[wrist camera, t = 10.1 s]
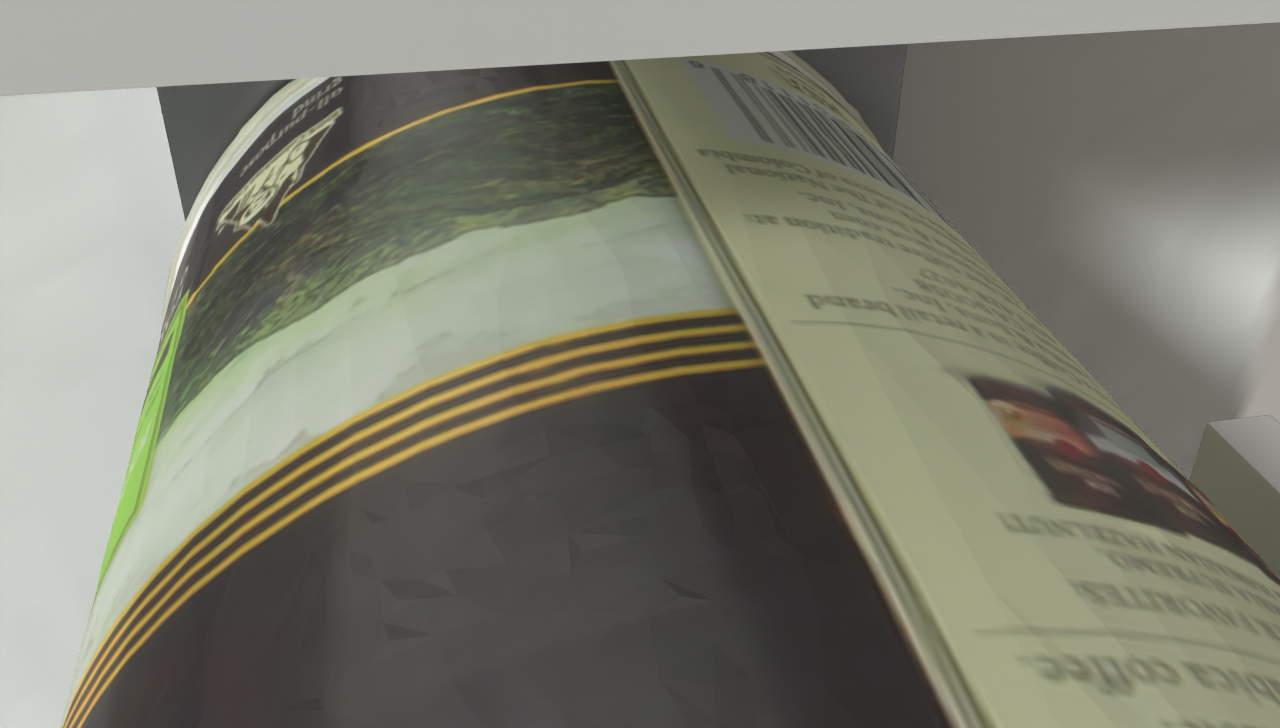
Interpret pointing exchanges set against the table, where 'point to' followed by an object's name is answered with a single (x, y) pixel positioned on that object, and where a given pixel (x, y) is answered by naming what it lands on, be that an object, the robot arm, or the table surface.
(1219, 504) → the robot arm
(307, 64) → the block
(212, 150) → the rail plate
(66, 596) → the table surface
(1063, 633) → the coffee can
